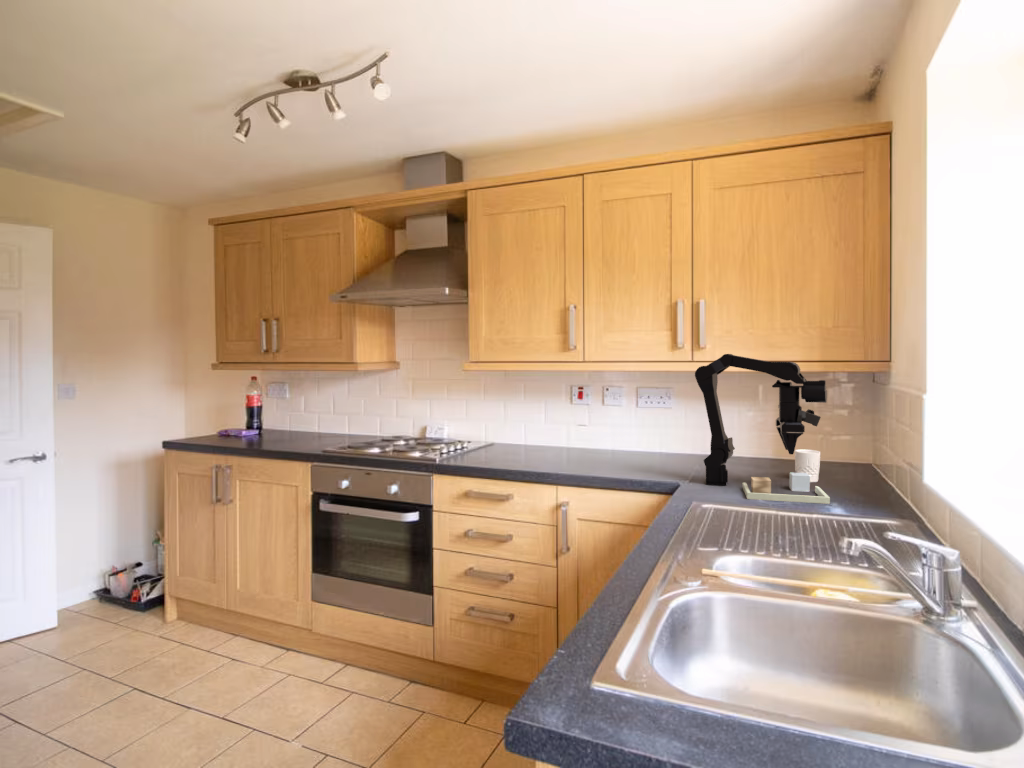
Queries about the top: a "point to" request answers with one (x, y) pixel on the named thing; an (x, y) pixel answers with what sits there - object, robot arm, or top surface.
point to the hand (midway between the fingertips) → (789, 452)
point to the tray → (789, 496)
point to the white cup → (808, 463)
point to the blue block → (799, 482)
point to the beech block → (760, 485)
